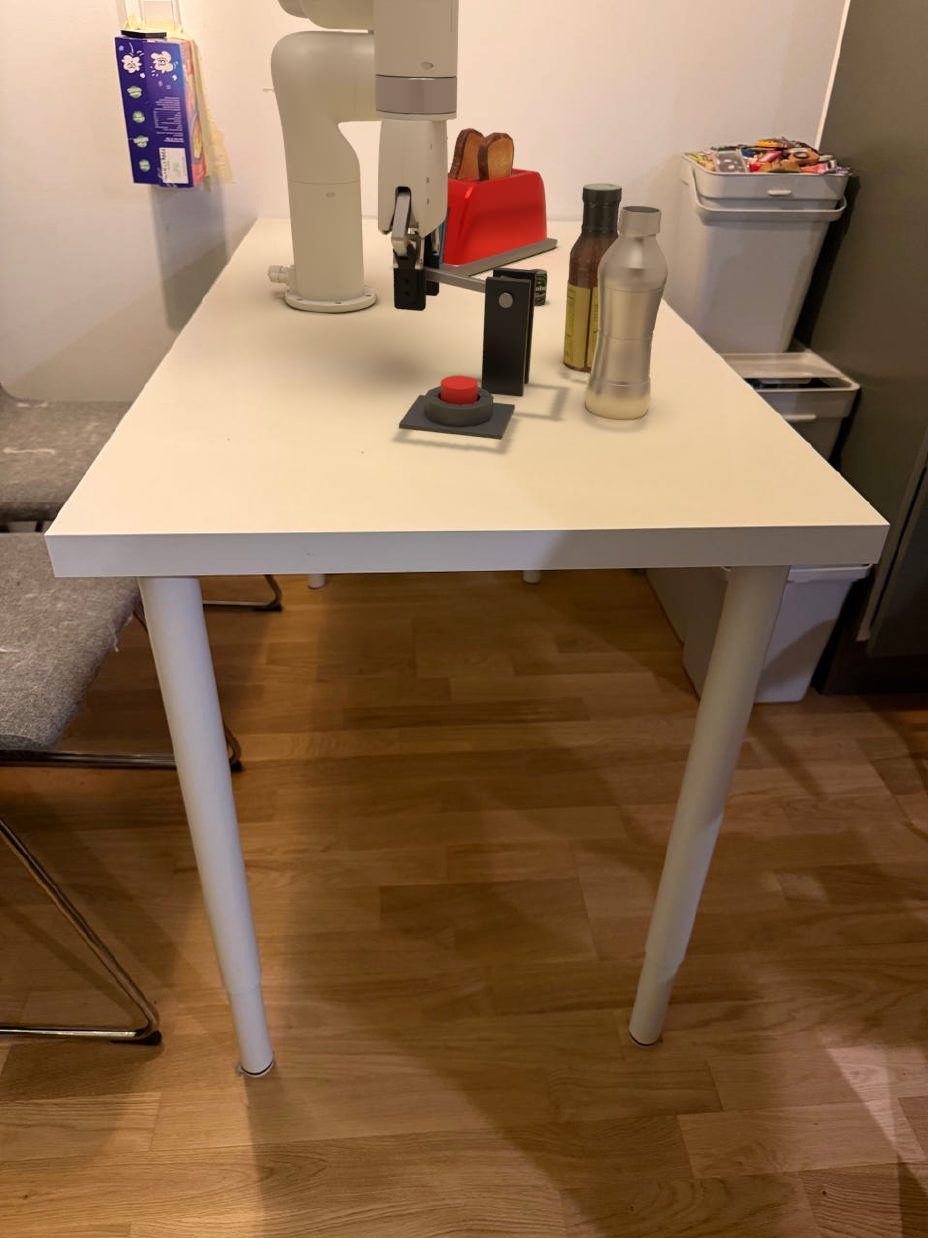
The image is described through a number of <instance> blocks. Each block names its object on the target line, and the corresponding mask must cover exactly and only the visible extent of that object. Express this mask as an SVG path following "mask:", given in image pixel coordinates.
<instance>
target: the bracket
mask: <svg viewBox="0 0 928 1238" xmlns="http://www.w3.org/2000/svg"><path fill="white" fill-rule="evenodd" d="M501 276H507V277H511V278H501ZM536 276H537V271H536V270H531V269H525V268H512V267H501V266H497V267H494V268H492V276H490V275H489V276H488V275H487V277H486V278H485V280H486V282H485V293H484V309H483V310H484V311H483V334H482V335H483V336H482V357H481V358H482V360H481V382H480V384H481V385H480V388H482V389H484V390H487V391H488V392H489V393H490V394H491V395H502V396H510V397H518V398H522V397H523V395H524V392H525V384H526V385H528V384H529V381H530V371H531V358H532V344H533V330H534V317H535V305H534V304H535V290H536ZM513 278H515V279H513Z"/></svg>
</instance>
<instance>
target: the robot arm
mask: <svg viewBox="0 0 928 1238" xmlns="http://www.w3.org/2000/svg"><path fill="white" fill-rule="evenodd" d="M277 2H278V3H279V6H280V7H281V9H282V10H283V11H284V12H285V13H287V14H288V15H290V16H292V17H296V18H301V19H308V20H309V21H310V22H311V23H312V24H314V25H316V26H317V27H319V28H323V29H327V30H304V31H303V30H302V31H296V32H291V33H288V34H286V35H284V36H282V37H281V38H280V39H279V40H278V41H277V42H276V43H275V45H274V46H273V48H272V51H271V55H270V75H271V80H272V81H271V82H272V86H273V90H274V96H275V101H276V105H277V110H278V114H279V118H280V119H279V120H280V126H281V132H282V139H283V148H284V158H285V168H286V169H285V171H286V179H287V192H288V194H287V195H288V204H289V205H288V206H289V217H290V231H291V232H290V233H291V243H292V255H293V257H292V258H293V264H290V265H289V266H283V265H275V264H269V266H268V269H267V275H268V279H269V281H270V283H274V284H286V286H288V288H287V290H286V291H285V292H284V297H285V302H286V303H287V304H288V305H289V306H290V307H293V308H295V309H298V310H302V311H306V312H307V311H308V312H314V313H346V312H352V311H357V310H362V309H366V308H369V307H370V306H372V305H373V304H374V303H375V302H376V300H377V293H376V290H374V289H373V288H372V287H370V286H368V285H366V284H365V267H364V266H365V265H364V242H363V241H364V238H363V237H364V236H363V211H362V210H363V209H362V208H363V207H362V184H361V182H362V181H361V180H362V179H361V165H360V159H359V157H358V154H357V152H356V150H355V148H354V147H353V146H352V145H351V143H350V142H349V140H348V139H347V138H346V136H345V135H344V134H343V132H342V131H341V129H340V127H339V124H340V123H349V122H380V131H379V144H378V162H377V163H378V165H377V167H378V168H377V229H378V232H380V234H381V235H384V236H388V235H389V234H390V243H391V246H392V253H393V254H392V256H393V257H392V267H393V269H392V270H393V271H392V273H393V307H394V308H395V309H396V310H404V311H416V312H423V311H425V309H426V308H427V296H428V297H437V296H438V295H439V294H440V283H439V282H435V281H430V280H426V269H425V268H422V267H423V258H425V259H426V260H427V261H428V263H429V267H431V268H435V269H439V270H440V256H438V254H439V248H440V246H439V227H438V226H439V225H440V224H441V223H442V222H443V221H444V220H445V217H446V212H447V196H448V173H449V157H448V154H449V151H448V140H449V137H448V125H447V124H448V122H447V121H449V120H450V121H453V120H456V119H457V116H458V115H457V113H458V61H459V60H458V59H459V58H458V57H459V56H458V55H459V54H458V53H459V9H460V8H459V6H460V0H277ZM333 30H334V31H333ZM335 30H336V31H335ZM337 30H340V31H337ZM341 30H342V31H341ZM343 30H355V32H352V31H343ZM357 30H359V31H367V32H358V31H357ZM356 31H357V32H356ZM409 241H411V244H409ZM434 254H435V255H434Z"/></svg>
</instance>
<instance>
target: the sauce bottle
mask: <svg viewBox="0 0 928 1238" xmlns="http://www.w3.org/2000/svg"><path fill="white" fill-rule="evenodd" d="M622 195H623V187H622V186H621V185H619V184H613V183H607V182H606V183H605V182H601V183H600V182H599V183H598V182H597V183H587V184H585V185H583V186H582V193H581V200H582V203H583V209H582V223H581V226H580V229H581V230H580V231H581V232H580V234H579V236H578V237H577V239H576V241H575V242H574V244H573V246H572V247H571V249H570V252H569V261H568V278H567V283H566V302H565V321H564V322H565V323H564V337H563V338H564V339H563V356H562V357H563V358H562V360H563V363H564V364H565V366H566V367H568V368H569V369H571V370H574V371H578V372H582V373H587V374H590V371H591V368H592V363H593V357H594V352H595V347H596V341H597V329H598V309H599V307H598V278H597V276H598V266H599V264H600V261H601V258H602V257H603V255H604V254H605V253H606V251H607V250H608V248H609V247H610V246H611V245H612V244H613V243H614V241H615V240H616V239H617V238H618V237H619V231H618V230H617V224H618V223H619V213H620V212H619V211H620V210H619V209H620V203H621V201H622V199H623V197H622Z"/></svg>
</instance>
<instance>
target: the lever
mask: <svg viewBox="0 0 928 1238" xmlns="http://www.w3.org/2000/svg"><path fill="white" fill-rule="evenodd" d="M422 268H425V269H426V280H430V281H435V282H439V284H443V285H448V286H451V287H456V288H460V289H465V290H469V291H473V292H478V293H482V294H485V282H486V279H481V278H477V277H473V276H470V275H469V276H465V275H460V274H456V273H452V272H448V271H444V270H439V269H435V268H431V267H429V263H428V261H427V260H426V259H425V258H423V267H422ZM501 278H511V277H507V276H501ZM513 279H515V278H513Z"/></svg>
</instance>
